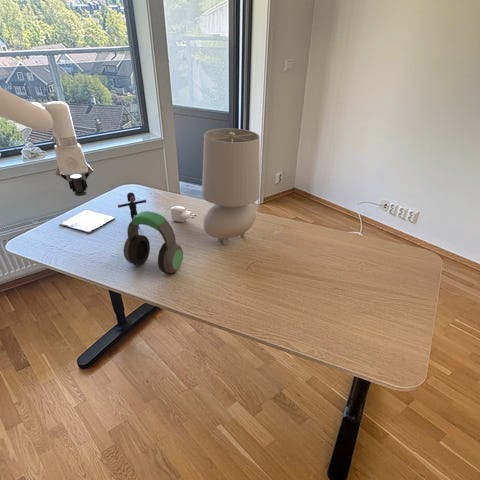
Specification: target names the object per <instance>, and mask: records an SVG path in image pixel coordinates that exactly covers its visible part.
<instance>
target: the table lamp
mask: <svg viewBox="0 0 480 480" xmlns="http://www.w3.org/2000/svg"><path fill="white" fill-rule="evenodd" d="M260 137H261V136H260V135H259V134H258V133H256V132H254V131H252V130H248V129H242V128H233V127H231V128H230V127H227V128H226V127H224V128H214V129H209V130H207V131H206V132H204V134H203V152H202V153H203V154H202V155H203V157H202V180H201V181H202V184H201V197H202V199H203V200H204V201H207V202H208V203H210V204H213V205H212V206H210V207H209V209H207V211H206V213H205V215H204V218H203V226H202V227H203V230H204V232H205V234H207V235H208V236H209V237H211V238H213V239H217V241H219V242H222V245H224V246H225V245H227V243H228V239H230V238H234V237H238V236H240V238H245V234H246V232H247V231H249V230H250V229H251V228H252V226H253V225H255V224H254V223H255V221H256V218H257V212H256V209H255V207H253V205H252V204H254V203H256V202H257V201H258V200H259V199H260V151H261V150H260V149H261V148H260V146H261V145H260V143H261V142H260V141H261V140H260V139H261V138H260Z"/></svg>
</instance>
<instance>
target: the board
mask: <svg viewBox="0 0 480 480" xmlns="http://www.w3.org/2000/svg"><path fill="white" fill-rule="evenodd" d="M115 219H116V218H115V217H114V216H110V215H105V214H102V213H98V212H95V211H91V210H87V209H85V210H84V211H82V212H80V213H78V214H76V215H74V216H73V217H70V218H68V219H67V220H64V221H62V222H60V223H59V226H61V227H64V228H68V229H71V230H74V231H79V232H82V233H85V234H89V235H90V234H91V233H93V232H95V231H96V230H98V229H100V228H102V227H103V226H105V225H107V224H109V223H110V222H112V221H114V220H115Z"/></svg>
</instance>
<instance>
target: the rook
mask: <svg viewBox="0 0 480 480" xmlns="http://www.w3.org/2000/svg"><path fill="white" fill-rule="evenodd" d="M70 178H71V180H72V183H73V186H74V190H75V191H74V192H73V194H74V196H76V197H83V196H86V195H87V194H88V192H87V190H86V191H85V190H84V186H83V183H82V176H81V174H71V175H70Z"/></svg>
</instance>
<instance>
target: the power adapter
mask: <svg viewBox="0 0 480 480" xmlns="http://www.w3.org/2000/svg"><path fill="white" fill-rule="evenodd" d="M170 215H171V221H173V222H178V223H184V222H186V220H189V218H190V219H195V217H197V216H198V214H195V213H193V212H192V211H188V210H187V209H186V207H183V206H178V205H174V206H172V207H171V209H170Z"/></svg>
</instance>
